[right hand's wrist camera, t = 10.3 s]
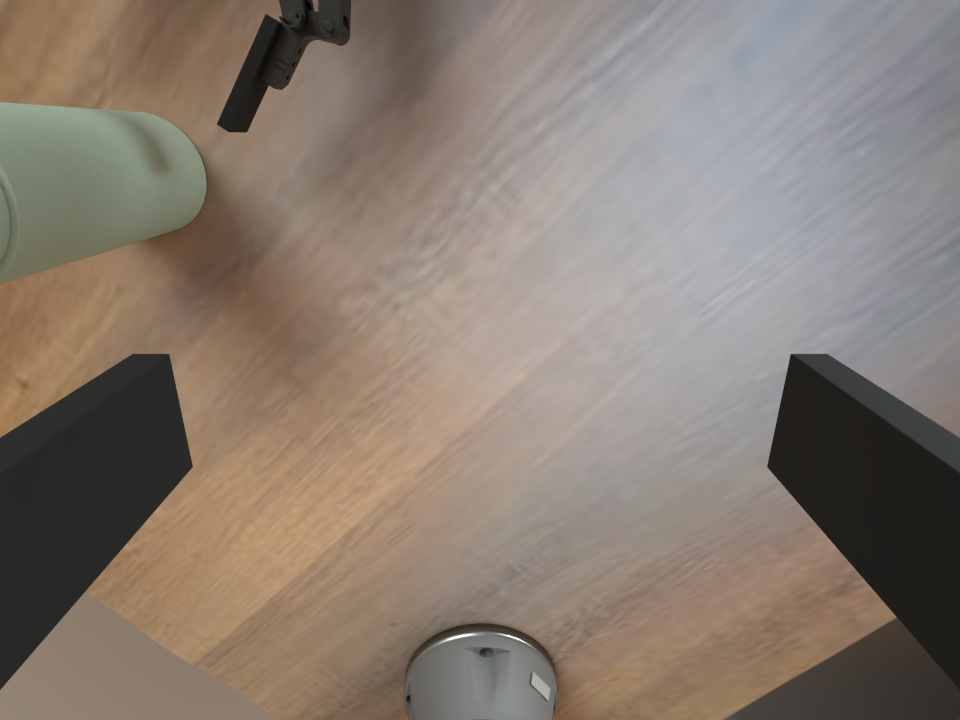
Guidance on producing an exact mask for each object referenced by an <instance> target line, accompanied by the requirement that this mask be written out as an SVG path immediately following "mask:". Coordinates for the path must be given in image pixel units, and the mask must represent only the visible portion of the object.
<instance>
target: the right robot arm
mask: <svg viewBox="0 0 960 720" xmlns="http://www.w3.org/2000/svg"><path fill="white" fill-rule="evenodd" d="M192 467H193V466H192V461H191V456H190V451H189V447H188V442H187V437H186V432H185V428H184V423H183V418H182V413H181V409H180V404H179V399H178V394H177V389H176V385H175V380H174V375H173V370H172V366H171V361H170V356H169V354H132V355H131V356H129V357H127V358H126V359H124V360H123V361H121V362H119V363H118V364H116V365H115V366H113V367H112V368H110V369H108V370H107V371H105V372H104V373H102V374H101V375H99V376H97V377H96V378H94V379H93V380H91V381H89V382H88V383H86V384H85V385H83V386H82V387H80V388H78V389H77V390H75V391H74V392H72V393H70V394H69V395H67V396H66V397H64V398H63V399H61V400H59V401H58V402H56V403H55V404H53V405H52V406H50V407H48V408H47V409H45V410H44V411H42V412H40V413H39V414H37V415H36V416H34V417H33V418H31V419H29V420H28V421H26V422H25V423H23V424H22V425H20V426H18V427H17V428H15V429H14V430H12V431H10V432H9V433H7V434H6V435H4V436H3V437H1V438H0V690H1V688H2V687H3V686H4V685H5V684H6V683H7V681H8V680H9V679H10V678H11V677H12V676H13V674H14V673H15V672H16V671H17V670H18V669H19V668H20V666H21V665H22V664H23V663H24V662H25V660H26V659H27V658H28V657H29V656H30V655H31V654H32V652H33V651H34V650H35V649H36V648H37V647H38V645H39V644H40V643H41V642H42V641H43V640H44V639H45V637H46V636H47V635H48V634H49V633H50V632H51V630H52V629H53V628H54V627H55V626H56V625H57V624H58V622H59V621H60V620H61V619H62V618H63V616H64V615H65V614H66V613H67V612H68V611H69V610H70V608H71V607H72V606H73V605H74V604H75V603H76V602H77V600H78V599H79V598H80V597H81V596H82V595H83V593H84V592H85V591H86V590H87V589H88V588H89V586H90V585H91V584H92V583H93V582H94V581H95V580H96V578H97V577H98V576H99V575H100V574H101V573H102V571H103V570H104V569H105V568H106V567H107V566H108V564H109V563H110V562H111V561H112V560H113V559H114V558H115V556H116V555H117V554H118V553H119V552H120V551H121V549H122V548H123V547H124V546H125V545H126V544H127V542H128V541H129V540H130V539H131V538H132V537H133V536H134V534H135V533H136V532H137V531H138V530H139V529H140V527H141V526H142V525H143V524H144V523H145V522H146V520H147V519H148V518H149V517H150V516H151V515H152V514H153V512H154V511H155V510H156V509H157V508H158V507H159V505H160V504H161V503H162V502H163V501H164V500H165V498H166V497H167V496H168V495H169V494H170V493H171V492H172V490H173V489H174V488H175V487H176V486H177V485H178V483H179V482H180V481H181V480H182V479H183V478H184V476H185V475H186V474H187V473H188V472H189V471H190V470H191V468H192ZM767 467H768V468H769V470H770V471H771V472H772V473H773V474H774V475H775V476H776V478H777V479H778V480H779V481H780V482H781V483H782V485H783V486H784V487H785V488H786V489H787V490H788V492H789V493H790V494H791V495H792V496H793V497H794V498H795V500H796V501H797V502H798V503H799V504H800V505H801V507H802V508H803V509H804V510H805V511H806V512H807V514H808V515H809V516H810V517H811V518H812V519H813V520H814V522H815V523H816V524H817V525H818V526H819V527H820V529H821V530H822V531H823V532H824V533H825V534H826V536H827V537H828V538H829V539H830V540H831V541H832V542H833V544H834V545H835V546H836V547H837V548H838V549H839V551H840V552H841V553H842V554H843V555H844V556H845V558H846V559H847V560H848V561H849V562H850V563H851V564H852V566H853V567H854V568H855V569H856V570H857V571H858V573H859V574H860V575H861V576H862V577H863V578H864V580H865V581H866V582H867V583H868V584H869V585H870V586H871V588H872V589H873V590H874V591H875V592H876V593H877V595H878V596H879V597H880V598H881V599H882V600H883V602H884V603H885V604H886V605H887V606H888V607H889V608H890V610H891V611H892V612H893V613H894V614H895V615H896V617H897V618H898V619H899V620H900V621H901V622H902V624H903V625H904V626H905V627H906V628H907V629H908V630H909V632H910V633H911V634H912V635H913V636H914V637H915V639H916V640H917V641H918V642H919V643H920V644H921V646H922V647H923V648H924V649H925V650H926V651H927V652H928V654H929V655H930V656H931V657H932V658H933V659H934V661H935V662H936V663H937V664H938V665H939V666H940V668H941V669H942V670H943V671H944V672H945V673H946V674H947V676H948V677H949V678H950V679H951V680H952V681H953V683H954V684H955V685H956V686H957V687H958V688H959V690H960V438H959V437H957V436H956V435H954V434H953V433H951V432H950V431H948V430H946V429H945V428H943V427H942V426H940V425H938V424H937V423H935V422H934V421H932V420H931V419H929V418H927V417H926V416H924V415H923V414H921V413H920V412H918V411H916V410H915V409H913V408H912V407H910V406H908V405H907V404H905V403H904V402H902V401H901V400H899V399H897V398H896V397H894V396H893V395H891V394H890V393H888V392H886V391H885V390H883V389H882V388H880V387H878V386H877V385H875V384H874V383H872V382H871V381H869V380H867V379H866V378H864V377H863V376H861V375H859V374H858V373H856V372H855V371H853V370H852V369H850V368H848V367H847V366H845V365H844V364H842V363H841V362H839V361H837V360H836V359H834V358H833V357H831V356H829V355H828V354H791V356H790V361H789V366H788V370H787V375H786V380H785V385H784V389H783V394H782V399H781V404H780V409H779V413H778V418H777V423H776V428H775V432H774V437H773V442H772V447H771V451H770V456H769V461H768V466H767ZM404 701H405V707H406V712H407V715H408V720H552V718H553V716H554V713H555V709H556V704H557V681H556V674H555V668H554V665H553V663H552V660H551V658H550V657H549V655H548V654H547V652H546V651H545V650H544V649H543V647H542V646H541V645H540V644H538V643H537V642H536V641H535V640H533V639H532V638H530V637H529V636H527V635H525V634H523V633H521V632H519V631H517V630H514V629H511V628H508V627H504V626H499V625H493V624H469V625H462V626H457V627H454V628H450V629H448V630H445V631H442V632H440V633H438V634H436V635H435V636H433V637H431V638H430V639H428V640H427V641H426V642H424V643H423V644H422V645H421V646H420V647H419V648H418V649H417V650H416V652H415V653H414V654H413V656H412V658H411V659H410V661H409V664H408V667H407V670H406V677H405V684H404Z"/></svg>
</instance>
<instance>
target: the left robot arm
mask: <svg viewBox="0 0 960 720" xmlns="http://www.w3.org/2000/svg"><path fill="white" fill-rule="evenodd" d="M279 1H280V6H281V10H282V15H283V17H281V16H280V17H279V18H280V20H281V22H282V23H280V22H279V21H277V20H275V19H273V18H272V17H270V16H268V15H265V17H264V19H263V22H262V24H261V26H260V28H259V31H258V33H257V35H256V37H255V40H254V42H253V44H252V46H251V49H250V51H249V53H248V55H247V58H246V60H245V62H244V64H243V67H242V69H241V71H240V73H239V76H238V78H237V80H236V82H235V85H234V87H233V89H232V91H231V94H230V96H229V98H228V100H227V103H226V105H225V107H224V109H223V112H222V114H221V116H220V119H219V121H218V123H217V125H219V126H220V127H222V128H223V129H225V130H227V131H228V132H247V131H248V129H249V127H250V124H251V122H252V120H253V118H254V116H255V114H256V112H257V109H258V107H259V105H260V103H261V101H262V99H263V96H264V94H265V92H266V90H267V88H268V86H269V85H270V86H271V87H273V88H275V89H279V90H282V89H284V88H285V87H286V86H287V85H288V84H289V82H290V80H291V78H292V75H293V74H294V71H295V69H296V67H297V65H298V63H299V61H300V59H301V57H302V55H303V52H304V50H305V48H306V46H307V45H308V44H309V43H310V42H311V41H313V40H322V41H326V42H330V43H334V44H336V45H339V46H341V45H345V44H346V43H347V42H348V41H349V38H350V16H351V0H319V12H315V11H314V7H313V2H312V0H279Z"/></svg>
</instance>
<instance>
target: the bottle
mask: <svg viewBox="0 0 960 720" xmlns="http://www.w3.org/2000/svg"><path fill="white" fill-rule="evenodd" d="M206 188H207V181H206V173H205V168H204V165H203V162H202V159H201V157H200V155H199V153H198V151H197V149H196V148H195V146H194V145H193V143H192V142H191V141H190V139H189V138H188V137H187V136H186V135H185V134H184V133H183V132H182V131H181V130H180V129H179V128H177V127H176V126H175V125H173V124H172V123H170V122H169V121H167V120H165V119H163V118H161V117H159V116H156V115H153V114H149V113H144V112H130V111H116V110H102V109H88V108H74V107H59V106H45V105H31V104H17V103H3V102H0V284H3V283H6V282H10V281H13V280H16V279H19V278H23V277H26V276H29V275H32V274H36V273H39V272H42V271H45V270H49V269H52V268H55V267H58V266H61V265H65V264H68V263H71V262H74V261H78V260H81V259H84V258H87V257H91V256H94V255H97V254H100V253H103V252H107V251H110V250H113V249H116V248H120V247H123V246H126V245H129V244H133V243H136V242H139V241H142V240H145V239H149V238H152V237H155V236H158V235H162V234H165V233H168V232H171V231H174V230H177V229H180V228H182V227H184V226H186V225H187V224H188V223H190V222H191V221H192V220H193V219H194V218H195V217H196V216H197V214H198V213H199V211H200V210H201V207H202V205H203V203H204V200H205V196H206Z"/></svg>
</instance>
